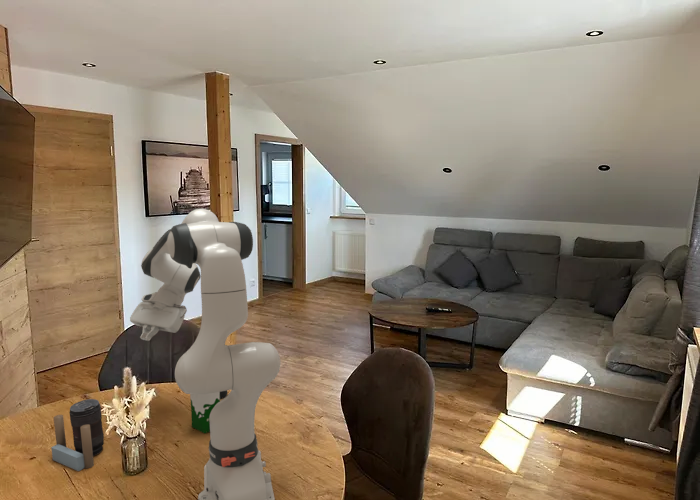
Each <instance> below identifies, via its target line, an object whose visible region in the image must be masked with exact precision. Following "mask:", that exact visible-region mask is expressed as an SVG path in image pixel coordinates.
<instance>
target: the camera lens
mask: <svg viewBox="0 0 700 500" xmlns="http://www.w3.org/2000/svg"><path fill="white" fill-rule="evenodd" d="M101 406H102V405H101V404H100V401H99V400H98V399H96V398H87V399H83V400H80V401H78V402H75V403H73V404H72V405H71V406H70V407H69V419H70V424H71V428H72V436H73V445H74V451H77V452H79V453H82V454H83V449H82V439H81V429H80V427H81V426H83V425H86V424H89V425H90V430H91V441H92V451H93V457H94V456H97V455H98V454H100V453H101V452H102V451H103V450H104V447H103V445H104V443H105V439H104V438H105V436H104V435H105V434H104V429H103V422H102V407H101Z"/></svg>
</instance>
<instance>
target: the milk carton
mask: <svg viewBox="0 0 700 500" xmlns="http://www.w3.org/2000/svg"><path fill="white" fill-rule="evenodd" d="M189 396H190V413H191V428H193V429H195V430H197V431H198V432H200V433H203V434H208V433H210V421H209V417H210V413H211V411H212V409H213V408H214V406H215V405H216V404H217V403H218V402H220V401H221V399H220V392H215V393H209V394H189Z"/></svg>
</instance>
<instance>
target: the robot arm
mask: <svg viewBox="0 0 700 500" xmlns="http://www.w3.org/2000/svg"><path fill="white" fill-rule="evenodd" d="M253 248H254V238H253V233H252V230H251V229H250V227H249V226H247V224H245V223H243V222H238V221H228V222H227V221H219V218H218V217H217V215H216V214H215V213H214V212H212V211H211V210H209V209H205V208H195V209H193V210H192V211H190V212H189V213H188V214H187V215H186V216H185V218H184V219H183V220H182V222H181V223H179V224H176V225H173V226H172V227H171V229H167V231H165V233H163V235H161V237H160V238H159V239H158V240H157V242H156V243H155V244H154V246H153V247H152V248H151V249H149V250H148V251H147V253H146V254H145V255H144V257H143V258H142V261H141V264H140V267H141V269H142V272H143V274H144V275H145V276H148V277H150V278H153V279H155V280H158V281H160V282H161V283H163V285H162V286H161V287H160V288H158V290H157V291H155V292H153V293H148V294H144V295H142V297H141V301H142V302H139V303H138V304H137V306H136V307H135V309H133V312H132V314H131V315H130V317H129V319H130V320H129V321H130V322H131V323H132V324H133V325H135V326H137V327H142V330H141V331H142V333H141V335H140V336H139V338H140V339H141V340H143V341H147V342H149V341H151V339H152V338H153V337H154V336H156V334H158V332H159V331H162V332H169V333H177V332H178V331H179V330H180V328H181V326H182V324H183V322H184V319H185V316H186V313H187V312H188V310H187V309H188V308H187V307H186V306H185V305H182V304H183V302H184V300H185V297H186V295H187V294H188V293H191V292H193V291H194V288H195V287H196V285H197V284H198V283H199V281H200V293H201V295H200V296H201V297H200V298H201V323H200V328H199V332H198V334H197V337H196V338H195V340H194V342H193V343H192V345H191V346H190V348H188V349H187V351H185V352H184V353H183V354H182V355H181V356H180V357H179V358H178V361H177V362H176V365H175V369H174V378H175V379H174V380H175V382H176V384H177V386H178V387H179V389H180V390H181V391H182V392H183V393H184V394H187V395H190V394H209V393H215V392H221V391H227V392H228V391H230V392H229V393H227V396H226V397H225V398H223V399H220V402H218V403H217V404H216V405H215V406H214V408H213V409H212V411H211V413H210V417H209V421H210V432H209V436H210V440H209V442H208V452H209V453H208V454H209V459H208V461H207V462H206V464H205V465H204V468H203V472H204V473H203V477H204V478H203V481H204V482H203V483H204V484H203V485H204V486H203V487H204V489H203V490H202V491H201V492H199V494H198V495H197V496H198V498H197V500H275V499H276V498H275V494H274V490H273V484H272V476H271V472H266V471H264V469H263V468H265V467H267V466H266V465H267V463H266V461H265V460H262V450H259V448H258V439H257V435H256V433H255V416H256V407H257V403H258V401H259V398H260V397H261V395H262V394H263V392H264V390H265V389H266V388H267V387H268V386H269V384H270V383H271V382H273V381H274V380H275V379H276V378H277V376H278V374H279V372H280V369H281V358H280V357H281V356H280V354H279V351H278V349H277V348H276V347H275V346H274V345H273V344H272V343H271V342H264V341H263V342H262V341H261V342H260V341H251V342H245V343H237V344H229V345H227V344H226V342H227V338H228V337H229V336H230V335H231V334H232V333H234V332H236V331H238V330H239V329H241V328H242V327H243V326H244V325H245V323H247V321H248V317H249V309H248V308H249V307H248V294H247V281H246V276H245V275H246V274H245V269H244V263H243V262H242V261H243V260H246V259H247V258H249V257H250V255H251V254H252V251H253ZM198 266H199V267H198ZM199 269H200V270H199Z"/></svg>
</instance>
